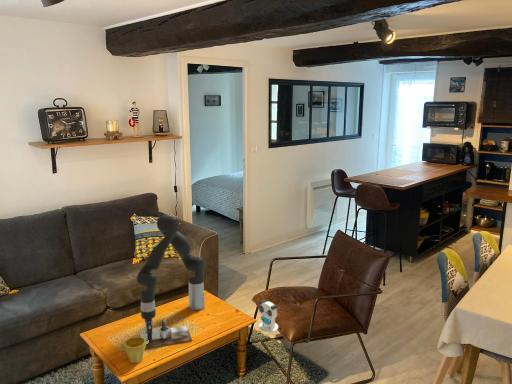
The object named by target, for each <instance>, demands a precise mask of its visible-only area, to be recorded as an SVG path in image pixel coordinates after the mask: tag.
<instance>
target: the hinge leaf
mask: <svg viewBox="0 0 512 384" xmlns="http://www.w3.org/2000/svg"><path fill="white" fill-rule="evenodd" d="M170 328H171V327H170V326H167V325H166V331H162V326H158V327H153V329H152V333H153V334H152V340H155V339H160V338H168V337H169V336H170ZM150 332H151V331H150ZM139 337H142V338H144V339H145V341H148V337H147V330H146V328H145V329H139Z"/></svg>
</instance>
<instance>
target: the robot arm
mask: <svg viewBox="0 0 512 384" xmlns="http://www.w3.org/2000/svg"><path fill="white" fill-rule="evenodd" d="M180 223H181V222H180V220H179V218H178V217H176V216H174V215H173V216H172V215H166V214H165V215H164V214H163V215H160V216H158V218H157V220H156V226H157V229H158V231H159V232H161V234H162V235H163V236H164V237H163V238H162V239H161V240H160V241H159V243H158V244H156V245H155V246H154V247H153V248H152V250H151V251H150V253H149V255H148V258H147V260H146V262H145V264H144V265H143V266H142V268H141V269H140V271H139V272H138V273H137V275H136V282H137V283H138V284H139V285H141V286H144V287H146V288H143V289H141V291H140V317H141V319H142V320H144V324H145V329H146V330H147V337H148V340H152V334H153V333H152V329H153V328H154V327H153V324H154V321H153V319H154V318H155V317H156V313H157V312H156V301H155V291H156V286H157V284H158V278H157V277H158V276H157V275H156V274H155V273H152V271H154V270H155V271H156V270H158V269H159V268H160V265H161V263H162V260H163V258H164V255H165V254H166V251H167V250H168V248H169V246H170V245H171V246H172V248H173V249H174V251H175V252H176V253H177V255H178V256H179V258H180V259H181V261H182V263H183V265H184V267H185V268H186V270H187V271H190V272H194V273H195V274H191V275H190V276H189V277H188V308H189V309H190V310H192V311H200V310H202V309H205V305H206V304H205V302H206V301H205V293H204V292H205V289H204V288H205V287H204V286H205V285H204V283H205V282H204V279H205V269H206V267H205V266H206V265H205V264H206V263H205V258H203V257H201V256H196V255H192V254H191V253H190V252H191V249H192V245H191V243H190V242H189V240H188V238H187V237H186V236H185V235H184V234H182V233H181V232H179V227H180ZM150 331H151V332H150Z"/></svg>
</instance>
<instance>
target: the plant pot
mask: <svg viewBox="0 0 512 384" xmlns="http://www.w3.org/2000/svg"><path fill="white" fill-rule="evenodd" d="M123 345H124V347H123V348H124V351H125V352H126V355H127V358H128V360H129V362H130V363H132V364H138V363H141V362H142V361H143V360H144V353H145V347H146V341H145V339H144V338H142V337H140V336H133V337H130V338H128V339H126V340H125V342H124V344H123Z"/></svg>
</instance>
